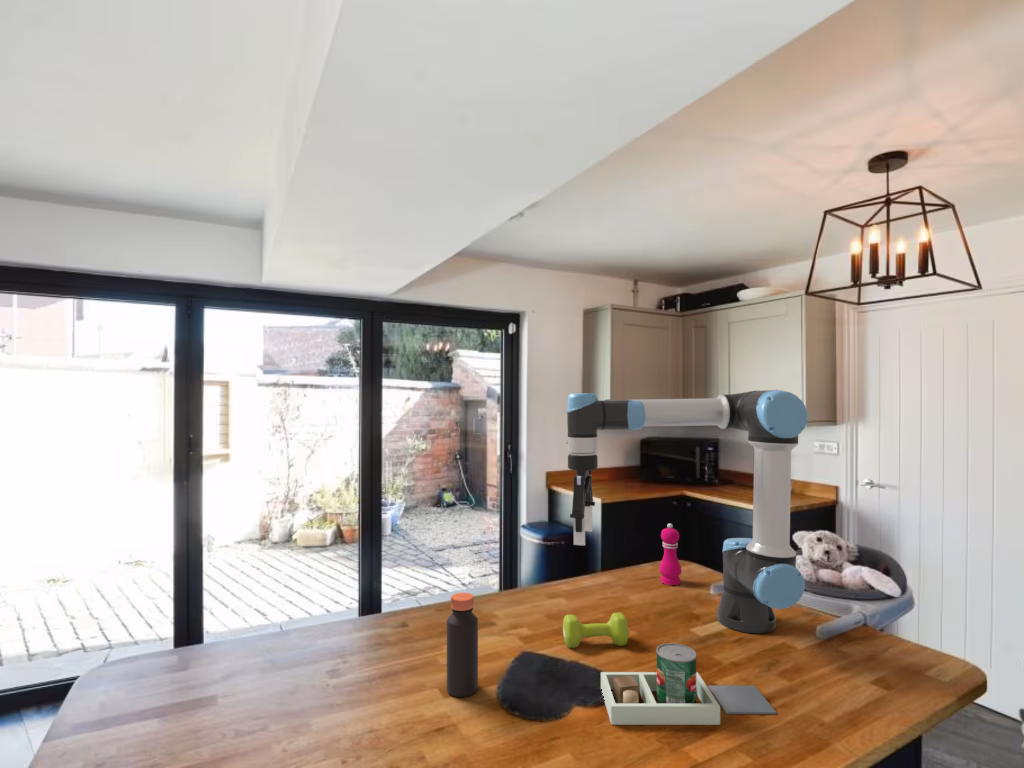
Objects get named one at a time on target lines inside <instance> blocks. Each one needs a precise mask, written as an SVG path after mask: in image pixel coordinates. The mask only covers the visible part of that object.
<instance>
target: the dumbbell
mask: <svg viewBox="0 0 1024 768" xmlns="http://www.w3.org/2000/svg"><path fill="white" fill-rule="evenodd" d="M562 621H563V622H562V635H563V640H564V642H565V645H566V647H567V648H569V649H574V648H575V649H576V648H578V646H579V645H580V642H581V641H582V639H584V638H587V637H588V638H591V637H610V638H611V640H612V641H613V643H614V644H615V645H616V646H618V647H619V646H620V647H621V646H622V647H623V646H626V645H627V643H628V640H629V635H630V633H629V632H630V631H629V624H628V619H627V618H626V616H625V615H624V614H623V613H622V612H619V611H618V612H613V613H612V614H611V616H610V618H609V620H608V621H607V622H605V623H603V622H601V623H587V624H585V623H581V622H580V620H579V618H578V617H577V616H576V615H574V614H566V615H565V616H564V617H563V620H562Z"/></svg>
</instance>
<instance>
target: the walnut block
mask: <svg viewBox="0 0 1024 768" xmlns="http://www.w3.org/2000/svg"><path fill="white" fill-rule="evenodd" d="M626 690H633V691H636V692H637V693H638V703H639V702H640V700H639V695H640V693H639V685H638V684H637V683H636V681H635V680H634V679H633V678H632V676H622V677H613V691H612V694H613V695H614V696H613V697H615V698H614V700H615V702H616V703H623V692H624V691H626Z"/></svg>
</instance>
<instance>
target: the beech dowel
mask: <svg viewBox="0 0 1024 768" xmlns="http://www.w3.org/2000/svg"><path fill="white" fill-rule="evenodd" d="M623 703H638V693H637V692H636V691H633V690H626V691H624V692H623Z"/></svg>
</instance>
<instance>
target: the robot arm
mask: <svg viewBox="0 0 1024 768" xmlns="http://www.w3.org/2000/svg"><path fill="white" fill-rule="evenodd" d="M807 410H808V409H807V407H806V405H805V403H804V402H803V400H802V399H800V398H799V396H797V395H796V394H794V393H793V392H789V391H785V390H780V389H770V390H750V391H746V392H745V391H743V392H739V393H731V394H719V395H718V396H717V397H716V398H713V397H712V398H709V397H707V398H658V399H657V398H652V399H650V398H649V399H648V398H647V399H646V398H645V399H643V398H642V399H604V400H599V399H598V395H597V393H595V392H592V393H591V392H588V393H587V392H584V393H583V392H577V393H575V392H574V393H573V392H572V393H570V394H568V396H567V410H566V414H567V421H566V422H567V423H566V424H567V439H566V440H565V442H564V443H565V445H567V452H568V453H569V454H568V455H567V468H568V469H569V470H571V471H576V475H574V476H573V494H572V508H571V513H569V517H570V519H572V520H573V522H572V523H573V525H572V526H573V545H574V546H586V532H591V533H593V507H596V502H595V501H594V497H593V483H592V481H593V480H592V479H593V478H592V471H595V470H597V469H598V466H599V465H598V463H599V462H598V457H599V456H598V455H597V453H598V451H599V450H598V449H599V448H598V447H599V445H598V442H599V441H598V440H599V439H598V431H599V430H600V431H605V430H606V431H607V430H609V431H612V430H613V431H628V430H629V431H633V430H636V431H637V430H641V429H643V428H644V427H688V426H690V427H691V426H692V427H695V426H696V427H697V426H699V427H701V426H702V427H703V426H705V427H706V426H717V427H718V428H719V429H721V430H726V429H727V430H738V431H743V432H747V442H748V443H749V444H750V445H751V446H752V447H753V452H754V453H753V456H754V457H753V494H752V495H753V497H752V498H753V500H752V501H753V504H752V505H753V506H752V510H753V512H752V538H750V537H731V538H727V539H725V540H724V541H723V545H722V567H723V568H722V571H723V572H722V574H723V575H722V577H723V579H722V580H723V591H722V595H721V597H720V601H719V604H718V607H717V610H716V619H717V621H718V622H719V623H720V624H721V625H723V626H725V627H726V628H729V629H731V630H735V631H739V632H742V633H750V634H765V633H766V634H767V633H770V632H773V631H775V629H776V628H777V619H776V614H775V612H774V609H775V610H783V609H788V608H791V607H793V606H795V604H796V603H797V602H799V601H800V600H801V598H802V597H803V595H804V592H805V588H806V587H805V586H806V581H805V578H804V575H803V574H802V572H801V571H800V570H799V569H798V568H797V551H795V550H794V549H793V547H792V546H791V544H790V541H791V540H790V539H791V538H790V537H791V534H790V533H791V487H792V486H791V482H792V481H791V480H792V479H791V478H792V477H791V476H792V451H793V450H794V449H795V448H796V447H797V446H798V445H799V435H800V434H801V433H802V431H804V430H805V429H806V426H807V425H808V420H809V419H808V418H809V415H808V411H807Z"/></svg>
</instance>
